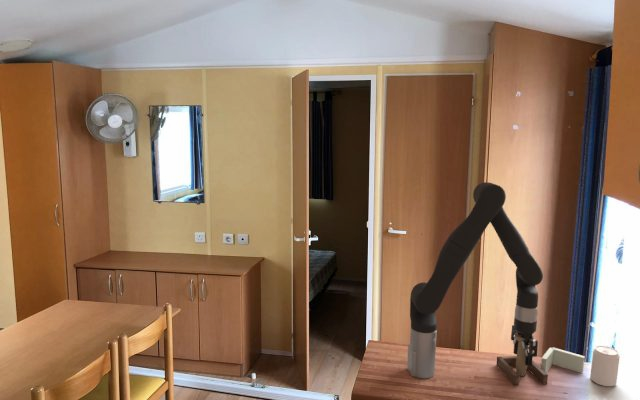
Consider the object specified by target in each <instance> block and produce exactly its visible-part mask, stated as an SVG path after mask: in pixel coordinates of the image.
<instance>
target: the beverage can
mask: <svg viewBox="0 0 640 400" xmlns="http://www.w3.org/2000/svg"><path fill="white" fill-rule="evenodd" d="M620 358H621V357H620V355H619V351H618V350H617V349H615V348H614V347H610V346H608V345H607V346H606V345H596V346H595V348H594V349H593V351H592V359H591V365H590V366H591V368H590V375H589V377H590V379H591V381H593V382H594V383H596V384H597V385H600V386H603V387H614V386H616V385H617V382H618V381H617V380H618V373H619V365H620Z"/></svg>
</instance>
